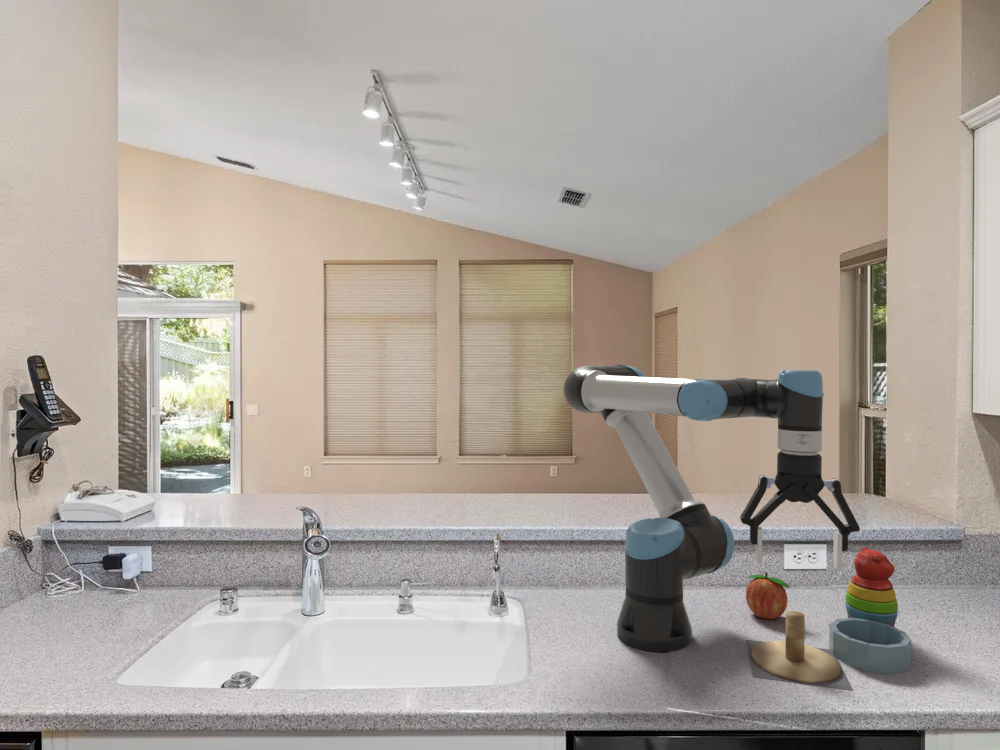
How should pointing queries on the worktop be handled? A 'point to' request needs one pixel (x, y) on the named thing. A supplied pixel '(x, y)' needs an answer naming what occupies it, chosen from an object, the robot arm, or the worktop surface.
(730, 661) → the worktop surface
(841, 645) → the bowl
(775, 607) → the fruit
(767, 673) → the mat
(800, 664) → the lid
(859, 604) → the stacking bear
